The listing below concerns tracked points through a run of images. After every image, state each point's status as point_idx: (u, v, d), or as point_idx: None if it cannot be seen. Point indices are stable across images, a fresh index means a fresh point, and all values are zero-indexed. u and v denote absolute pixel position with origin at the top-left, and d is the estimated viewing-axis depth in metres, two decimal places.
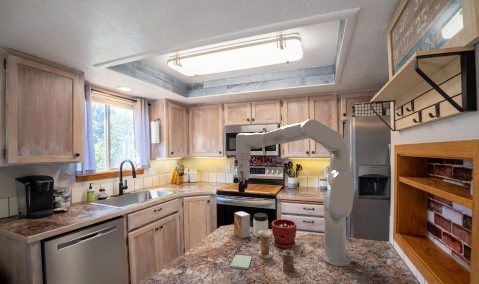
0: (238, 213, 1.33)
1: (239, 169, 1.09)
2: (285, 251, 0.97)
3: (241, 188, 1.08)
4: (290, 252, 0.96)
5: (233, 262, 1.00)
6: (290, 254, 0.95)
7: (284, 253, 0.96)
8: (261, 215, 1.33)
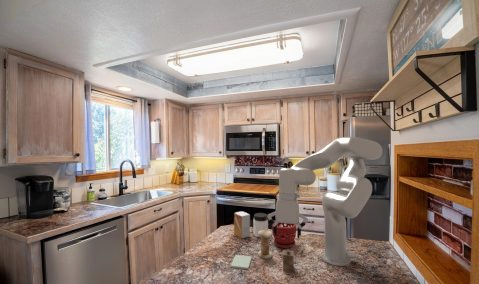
0: (238, 213, 1.33)
1: (298, 211, 0.94)
2: (285, 251, 0.97)
3: (300, 232, 0.95)
4: (290, 252, 0.96)
5: (233, 262, 1.00)
6: (290, 254, 0.95)
7: (284, 253, 0.96)
8: (261, 215, 1.33)
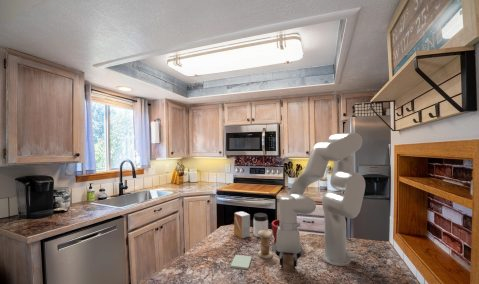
0: (238, 213, 1.33)
1: (299, 240, 0.94)
2: None
3: (296, 263, 0.95)
4: None
5: (233, 262, 1.00)
6: (290, 254, 0.95)
7: (284, 253, 0.96)
8: (261, 215, 1.32)
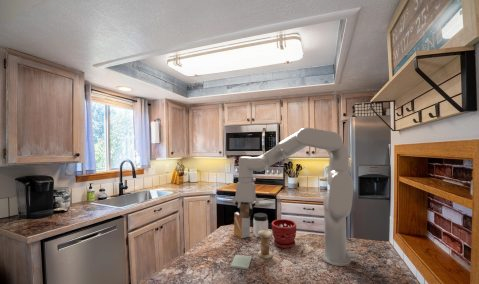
0: (238, 213, 1.33)
1: (254, 192, 1.12)
2: (243, 202, 1.16)
3: None
4: (247, 203, 1.15)
5: (233, 262, 1.00)
6: (246, 203, 1.13)
7: (242, 203, 1.14)
8: (261, 215, 1.33)
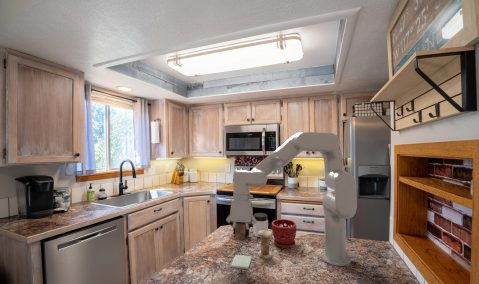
0: None
1: (251, 210, 1.00)
2: None
3: (248, 232, 1.01)
4: None
5: (233, 262, 1.00)
6: (242, 223, 1.00)
7: (237, 223, 1.01)
8: (261, 215, 1.33)
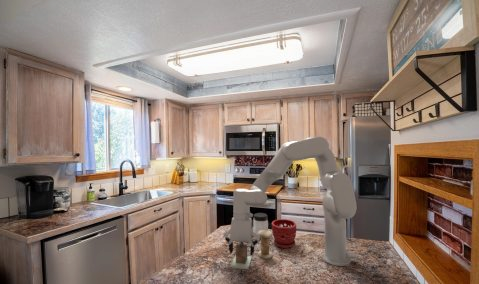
0: None
1: (251, 230, 1.00)
2: (239, 244, 1.03)
3: (253, 249, 1.00)
4: (244, 245, 1.02)
5: (233, 262, 1.00)
6: (243, 246, 1.00)
7: (237, 245, 1.01)
8: (261, 215, 1.33)
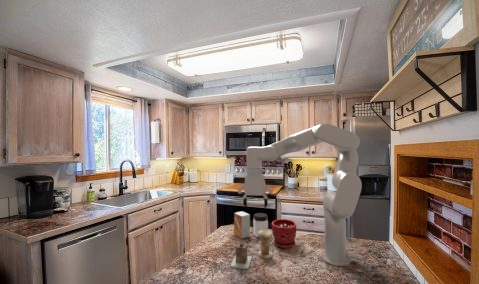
0: (238, 213, 1.33)
1: (264, 184, 1.06)
2: (239, 244, 1.03)
3: (267, 202, 1.06)
4: (244, 245, 1.02)
5: (233, 262, 1.00)
6: (243, 246, 1.00)
7: (237, 245, 1.01)
8: (261, 215, 1.33)
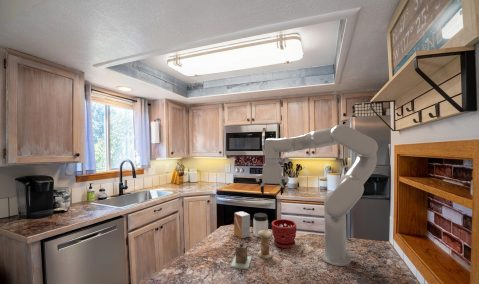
0: (238, 213, 1.33)
1: (281, 173, 1.14)
2: (239, 244, 1.03)
3: None
4: (244, 245, 1.02)
5: (233, 262, 1.00)
6: (243, 246, 1.00)
7: (237, 245, 1.01)
8: (261, 215, 1.33)
